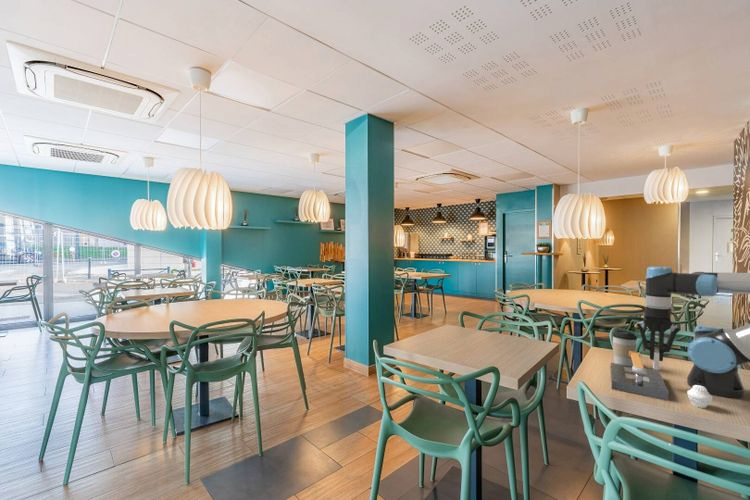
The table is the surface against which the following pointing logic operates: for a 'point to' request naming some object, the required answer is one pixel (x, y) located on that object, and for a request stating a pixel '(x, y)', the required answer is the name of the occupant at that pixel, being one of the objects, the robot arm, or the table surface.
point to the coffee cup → (623, 347)
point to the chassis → (638, 381)
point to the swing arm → (637, 363)
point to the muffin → (699, 396)
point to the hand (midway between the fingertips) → (655, 368)
